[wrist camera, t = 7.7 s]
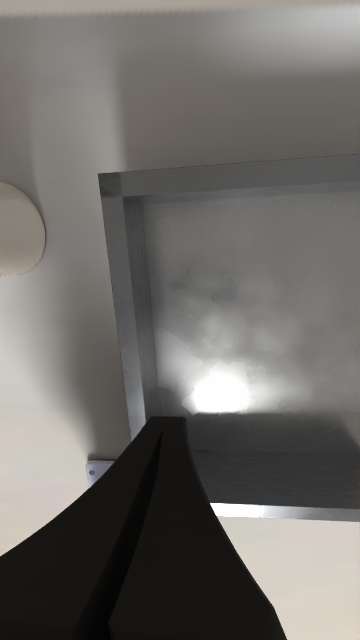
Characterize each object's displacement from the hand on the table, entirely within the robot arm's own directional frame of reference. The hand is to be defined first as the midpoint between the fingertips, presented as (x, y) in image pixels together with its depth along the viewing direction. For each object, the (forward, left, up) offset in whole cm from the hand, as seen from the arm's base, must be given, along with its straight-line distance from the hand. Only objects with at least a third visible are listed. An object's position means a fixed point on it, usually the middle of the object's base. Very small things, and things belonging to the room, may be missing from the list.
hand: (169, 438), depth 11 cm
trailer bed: (0, -5, -10) cm, 11 cm away
